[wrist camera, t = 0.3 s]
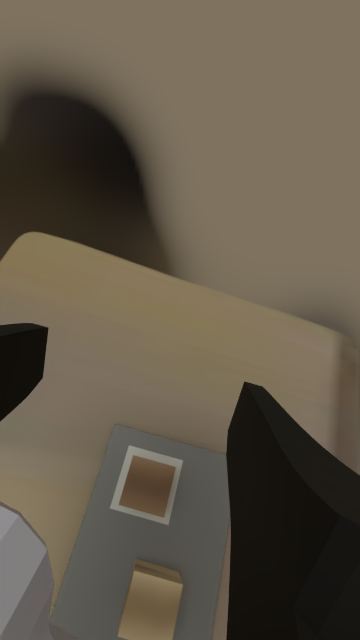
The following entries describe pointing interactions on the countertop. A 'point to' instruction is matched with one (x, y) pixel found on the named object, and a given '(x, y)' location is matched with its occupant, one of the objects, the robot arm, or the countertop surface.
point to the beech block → (151, 603)
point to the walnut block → (147, 486)
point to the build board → (148, 539)
